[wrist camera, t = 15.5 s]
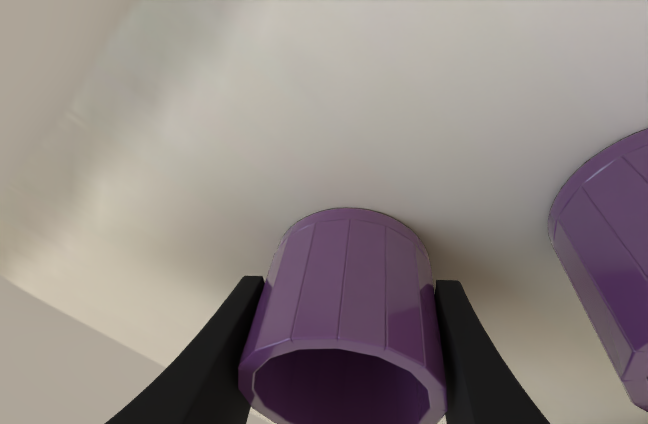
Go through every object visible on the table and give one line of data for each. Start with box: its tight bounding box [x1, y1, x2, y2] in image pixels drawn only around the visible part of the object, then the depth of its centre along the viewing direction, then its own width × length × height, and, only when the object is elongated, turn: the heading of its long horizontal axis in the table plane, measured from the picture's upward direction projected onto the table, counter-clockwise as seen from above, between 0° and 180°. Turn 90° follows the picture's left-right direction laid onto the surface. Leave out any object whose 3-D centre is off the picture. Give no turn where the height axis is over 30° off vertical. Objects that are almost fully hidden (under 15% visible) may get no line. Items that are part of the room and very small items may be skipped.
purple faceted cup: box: [238, 208, 449, 424], centre depth 11 cm, size 5×5×5 cm
